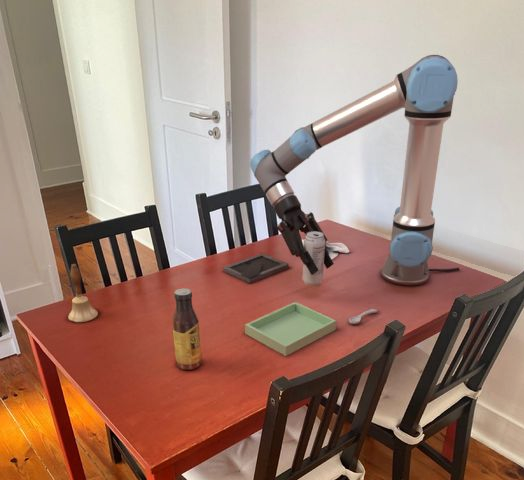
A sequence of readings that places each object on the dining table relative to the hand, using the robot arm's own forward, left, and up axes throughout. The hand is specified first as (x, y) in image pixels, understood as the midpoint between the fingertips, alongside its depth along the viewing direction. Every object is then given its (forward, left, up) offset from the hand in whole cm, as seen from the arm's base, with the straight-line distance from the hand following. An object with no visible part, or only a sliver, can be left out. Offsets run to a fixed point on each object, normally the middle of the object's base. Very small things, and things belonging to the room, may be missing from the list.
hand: (322, 269), depth 154 cm
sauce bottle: (+40, +27, -11) cm, 50 cm away
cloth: (-9, -43, -11) cm, 45 cm away
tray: (+12, +15, -11) cm, 22 cm away
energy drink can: (+2, -3, -6) cm, 7 cm away
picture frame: (+16, -28, -11) cm, 34 cm away
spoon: (-10, +11, -11) cm, 19 cm away
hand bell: (+70, -3, -11) cm, 71 cm away
